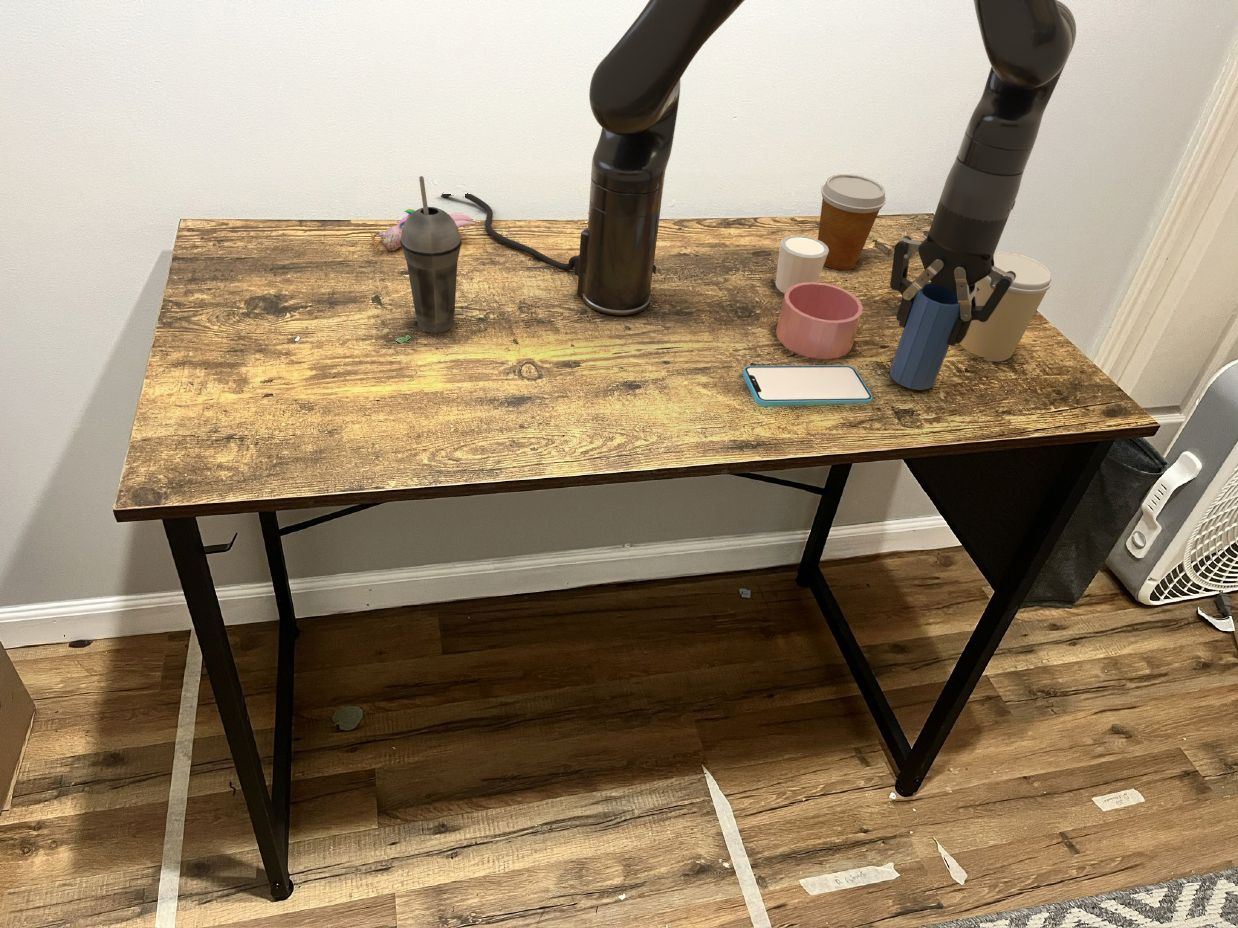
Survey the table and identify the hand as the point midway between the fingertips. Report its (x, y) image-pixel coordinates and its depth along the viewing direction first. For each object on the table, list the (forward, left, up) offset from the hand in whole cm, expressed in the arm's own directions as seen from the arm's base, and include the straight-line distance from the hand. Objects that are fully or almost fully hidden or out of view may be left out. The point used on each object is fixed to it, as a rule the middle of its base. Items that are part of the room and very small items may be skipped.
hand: (928, 333), depth 108 cm
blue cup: (0, 0, -7) cm, 7 cm away
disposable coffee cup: (-21, +25, -8) cm, 34 cm away
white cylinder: (-22, +12, -8) cm, 26 cm away
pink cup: (-14, +1, -8) cm, 16 cm away
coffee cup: (+5, +16, -8) cm, 18 cm away
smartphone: (-10, -10, -8) cm, 16 cm away
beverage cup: (-54, -29, -8) cm, 62 cm away
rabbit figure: (-70, -14, -8) cm, 72 cm away
